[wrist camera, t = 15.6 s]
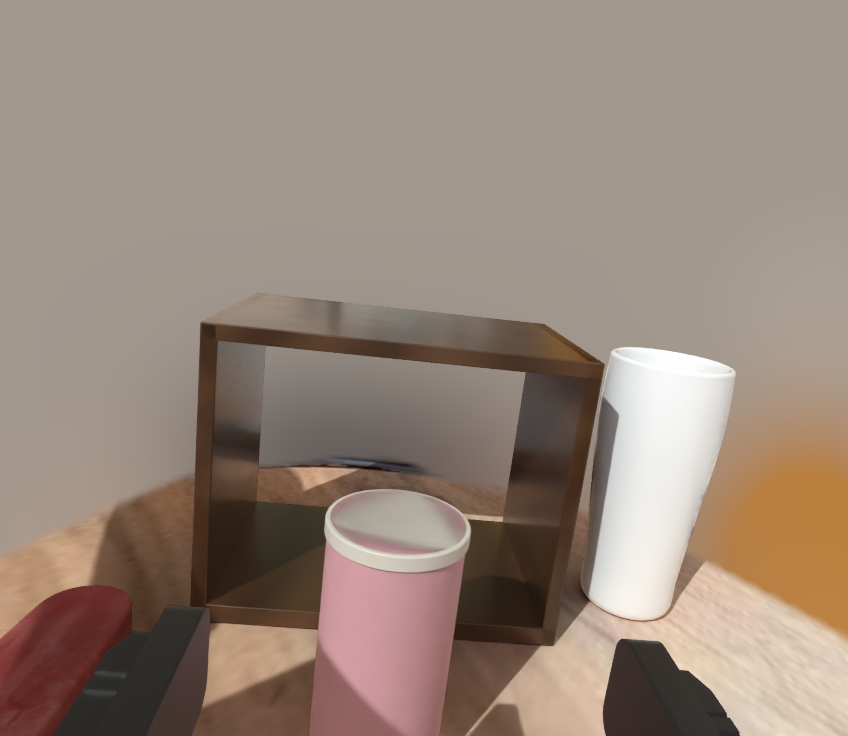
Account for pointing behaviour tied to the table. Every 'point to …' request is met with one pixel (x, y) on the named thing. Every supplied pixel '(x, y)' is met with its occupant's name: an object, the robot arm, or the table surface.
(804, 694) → the table surface
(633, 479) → the drinking glass
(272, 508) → the cubby cabinet
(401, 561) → the pink canister
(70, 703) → the popsicle
